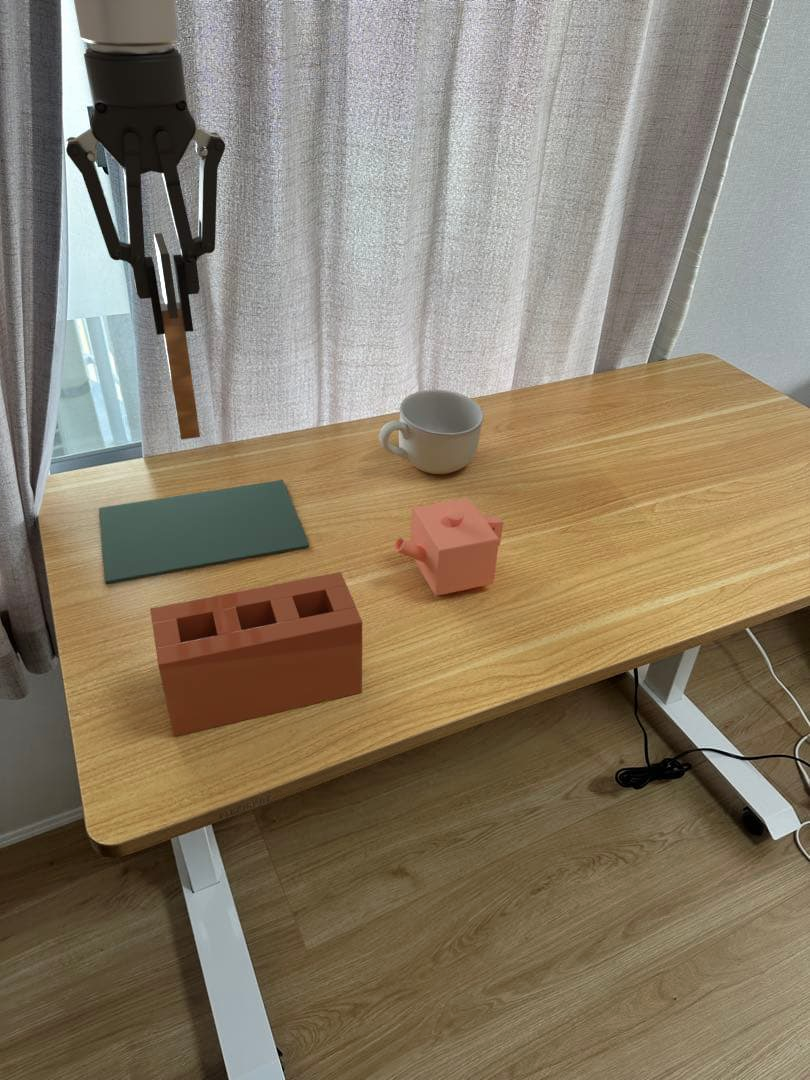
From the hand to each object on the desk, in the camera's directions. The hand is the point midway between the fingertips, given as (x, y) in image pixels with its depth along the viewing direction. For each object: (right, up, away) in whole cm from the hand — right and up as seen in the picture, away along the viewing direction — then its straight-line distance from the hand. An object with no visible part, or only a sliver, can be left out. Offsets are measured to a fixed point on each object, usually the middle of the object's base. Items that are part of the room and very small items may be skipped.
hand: (173, 326), depth 78 cm
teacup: (+25, -11, +28) cm, 39 cm away
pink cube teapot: (+27, -25, +10) cm, 38 cm away
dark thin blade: (0, -9, +7) cm, 12 cm away
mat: (-1, -19, +15) cm, 24 cm away
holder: (+9, -34, -4) cm, 36 cm away
